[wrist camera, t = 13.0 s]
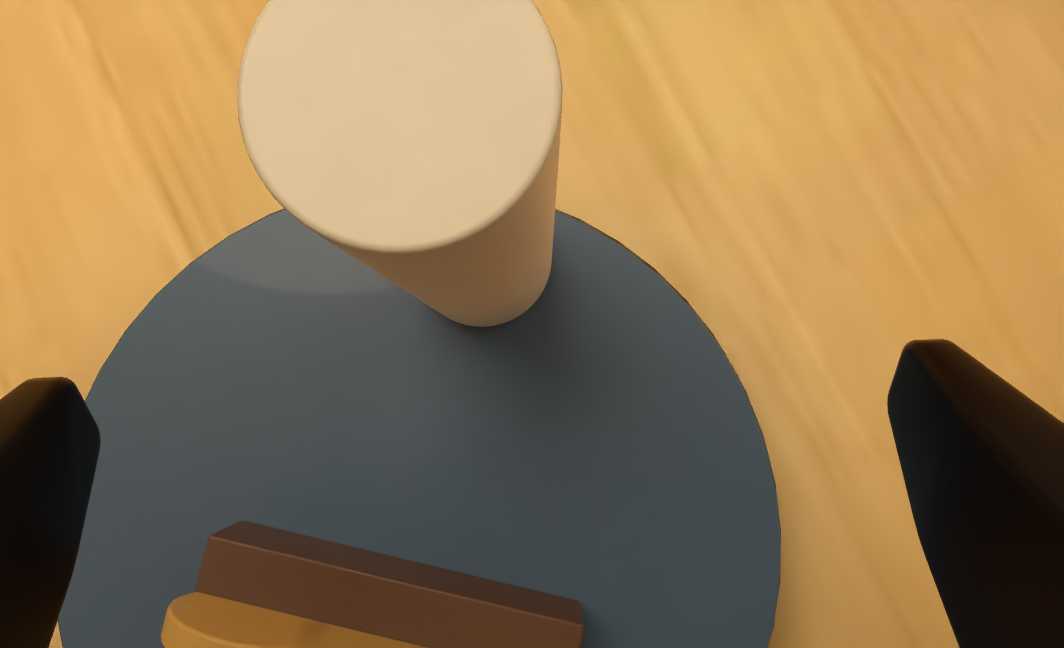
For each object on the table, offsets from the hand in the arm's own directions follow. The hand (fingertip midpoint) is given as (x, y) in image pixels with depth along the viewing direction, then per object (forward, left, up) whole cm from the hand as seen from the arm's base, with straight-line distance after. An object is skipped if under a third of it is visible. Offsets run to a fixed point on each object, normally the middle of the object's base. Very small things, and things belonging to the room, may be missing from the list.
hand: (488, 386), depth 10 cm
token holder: (-3, 0, -8) cm, 9 cm away
